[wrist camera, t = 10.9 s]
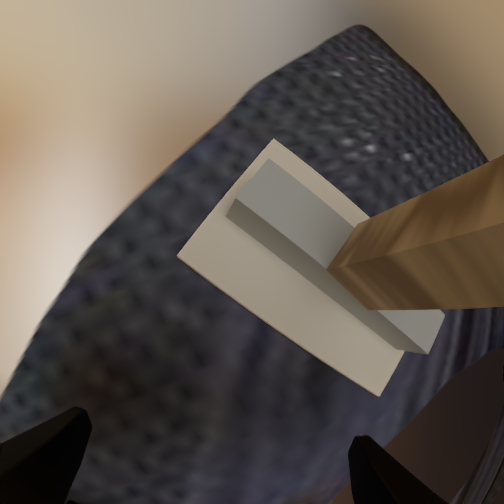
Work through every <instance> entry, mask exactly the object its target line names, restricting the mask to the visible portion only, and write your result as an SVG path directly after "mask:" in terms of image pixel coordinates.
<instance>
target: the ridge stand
mask: <svg viewBox="0 0 504 504" xmlns="http://www.w3.org/2000/svg"><path fill="white" fill-rule="evenodd" d="M367 219H369V217H368V216H367V215H366V214H365V213H364V212H363V211H362V210H361V209H360V208H358V207H357V206H356V205H355V204H354V203H353V202H352V201H350V200H349V199H348V198H347V197H346V196H345V195H344V194H342V193H341V192H340V191H339V190H338V189H337V188H335V187H334V186H333V185H332V184H331V183H329V182H328V181H327V180H326V179H325V178H323V177H322V176H321V175H320V174H318V173H317V172H316V171H315V170H314V169H312V168H311V167H310V166H309V165H307V164H306V163H305V162H303V161H302V160H301V159H300V158H298V157H297V156H296V155H295V154H293V153H292V152H291V151H289V150H288V149H287V148H285V147H284V146H283V145H281V144H280V143H279V142H277V141H276V140H275V139H273V140H272V141H271V142H270V143H269V144H268V145H267V146H266V148H265V149H264V150H263V151H262V152H261V153H260V154H259V156H258V157H257V158H256V159H255V160H254V161H253V163H252V164H251V165H250V166H249V167H248V168H247V169H246V171H245V172H244V173H243V174H242V175H241V177H240V178H239V179H238V180H237V181H236V182H235V184H234V185H233V186H232V187H231V188H230V190H229V191H228V192H227V193H226V194H225V196H224V197H223V198H222V199H221V201H220V202H219V203H218V204H217V205H216V207H215V208H214V209H213V210H212V212H211V213H210V214H209V215H208V216H207V218H206V219H205V220H204V221H203V223H202V224H201V225H200V226H199V228H198V229H197V230H196V232H195V233H194V234H193V235H192V237H191V238H190V239H189V240H188V242H187V243H186V244H185V246H184V247H183V248H182V249H181V251H180V252H179V253H178V255H177V258H178V259H180V260H181V261H182V262H184V263H185V264H186V265H187V266H189V267H190V268H191V269H193V270H194V271H195V272H197V273H198V274H199V275H201V276H202V277H203V278H205V279H206V280H207V281H209V282H210V283H211V284H213V285H214V286H215V287H217V288H218V289H219V290H221V291H222V292H223V293H225V294H226V295H227V296H229V297H230V298H232V299H233V300H234V301H236V302H237V303H238V304H240V305H241V306H243V307H244V308H245V309H247V310H248V311H250V312H251V313H252V314H254V315H255V316H257V317H258V318H259V319H261V320H262V321H264V322H265V323H266V324H268V325H269V326H271V327H272V328H274V329H275V330H276V331H278V332H279V333H281V334H282V335H284V336H285V337H287V338H288V339H289V340H291V341H292V342H294V343H295V344H297V345H298V346H300V347H301V348H303V349H304V350H306V351H307V352H309V353H310V354H312V355H313V356H315V357H316V358H318V359H319V360H321V361H322V362H324V363H325V364H327V365H328V366H330V367H331V368H333V369H334V370H336V371H337V372H339V373H340V374H342V375H344V376H345V377H347V378H348V379H350V380H351V381H353V382H354V383H356V384H358V385H359V386H361V387H362V388H364V389H366V390H367V391H369V392H370V393H372V394H374V395H376V396H378V397H379V396H380V395H381V393H382V391H383V390H384V388H385V386H386V384H387V383H388V381H389V379H390V377H391V376H392V374H393V372H394V370H395V368H396V366H397V365H398V363H399V361H400V359H401V357H402V355H403V353H404V351H409V352H416V353H422V354H428V353H429V351H430V349H431V347H432V345H433V343H434V340H435V338H436V336H437V333H438V331H439V329H440V326H441V324H442V321H443V319H444V316H445V315H444V314H443V312H442V311H441V310H440V309H436V310H367V309H366V308H365V307H364V306H363V305H362V304H361V303H360V302H359V301H358V300H357V299H356V298H355V297H354V296H353V295H352V294H351V293H350V292H348V291H347V290H346V289H345V288H344V287H343V286H342V285H341V284H340V283H339V282H338V281H337V280H336V279H335V278H334V277H333V276H332V275H331V274H330V273H328V272H327V271H326V269H327V267H328V266H329V265H330V263H331V262H332V260H333V259H334V258H335V256H336V255H337V253H338V252H339V250H340V249H341V248H342V246H343V245H344V243H345V242H346V240H347V239H348V237H349V236H350V235H351V233H352V232H353V230H354V229H355V227H356V226H357V224H358V223H361V222H363V221H365V220H367Z"/></svg>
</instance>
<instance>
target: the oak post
mask: <svg viewBox="0 0 504 504" xmlns="http://www.w3.org/2000/svg"><path fill="white" fill-rule="evenodd" d="M326 271H327V272H328V273H330V274H331V275H332V276H333V277H334V278H335V279H336V280H337V281H338V282H339V283H340V284H341V285H342V286H343V287H344V288H345V289H346V290H347V291H348V292H350V293H351V294H352V295H353V296H354V297H355V298H356V299H357V300H358V301H359V302H360V303H361V304H362V305H363V306H364V307H365V308H366V309H367V310H436V309H465V308H484V307H500V306H504V155H502V156H500V157H498V158H496V159H494V160H492V161H490V162H488V163H486V164H484V165H482V166H480V167H478V168H476V169H473V170H471V171H469V172H467V173H465V174H463V175H461V176H459V177H457V178H455V179H453V180H451V181H448V182H446V183H444V184H442V185H440V186H438V187H436V188H434V189H432V190H430V191H427V192H425V193H423V194H421V195H419V196H417V197H415V198H412V199H410V200H408V201H406V202H404V203H402V204H400V205H397V206H395V207H393V208H391V209H389V210H387V211H385V212H382V213H380V214H378V215H376V216H374V217H371V218H369V219H367V220H365V221H363V222H361V223H358V224H357V226H356V227H355V229H354V230H353V232H352V233H351V235H350V236H349V237H348V239H347V240H346V242H345V243H344V245H343V246H342V248H341V249H340V250H339V252H338V253H337V255H336V256H335V258H334V259H333V260H332V262H331V263H330V265H329V266H328V267H327V269H326Z"/></svg>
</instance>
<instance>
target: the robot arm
mask: <svg viewBox="0 0 504 504" xmlns="http://www.w3.org/2000/svg"><path fill="white" fill-rule="evenodd" d="M91 431H92V424H91V422H90V419H89V417H88V414H87V412H86V410H85V409H82V408H79V407H73V408H71V409H69V410H67V411H65V412H63V413H61V414H59V415H57V416H55V417H53V418H52V419H50V420H48V421H46V422H44V423H42V424H40V425H38V426H36V427H34V428H32V429H30V430H28V431H25V432H23V433H21V434H19V435H17V436H15V437H13V438H11V439H9V440H7V441H5V442H3V443H0V504H64V502H65V500H66V497H67V495H68V493H69V490H70V488H71V486H72V483H73V481H74V479H75V476H76V474H77V472H78V469H79V467H80V465H81V462H82V459H83V456H84V453H85V450H86V447H87V443H88V440H89V437H90V434H91ZM348 459H349V468H350V478H351V489H352V495H353V500H354V504H449V503H447V502H446V501H444V500H443V499H442V498H441V497H439V496H438V495H437V494H436V493H433V491H432V490H430V489H429V488H428V487H427V486H426V485H425V484H423V483H422V482H421V481H420V480H418V479H417V478H416V477H415V476H414V475H413V474H412V473H410V472H409V471H408V470H407V469H406V468H404V467H403V466H402V465H401V464H400V463H399V462H398V461H397V460H395V459H394V458H393V457H392V456H391V455H390V454H388V453H387V452H386V451H385V450H384V449H383V448H382V447H381V446H380V445H378V444H377V443H376V442H375V441H374V440H373V439H372V438H371V437H370V436H368V435H357V436H355V437H354V439H353V442H352V444H351V446H350V449H349V452H348ZM66 504H76V503H74V502H72V501H68V502H67V503H66Z"/></svg>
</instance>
